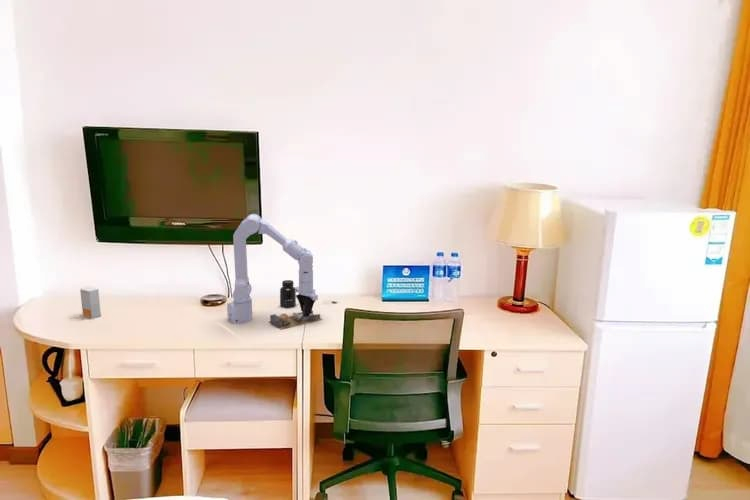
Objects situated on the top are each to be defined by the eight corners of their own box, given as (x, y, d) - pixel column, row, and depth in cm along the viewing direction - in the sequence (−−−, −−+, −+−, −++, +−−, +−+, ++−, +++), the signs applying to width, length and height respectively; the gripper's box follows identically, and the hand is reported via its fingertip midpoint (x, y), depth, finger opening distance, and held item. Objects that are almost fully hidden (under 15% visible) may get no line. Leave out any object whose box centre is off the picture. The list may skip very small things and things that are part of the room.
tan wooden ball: (281, 325, 221) (281, 316, 220) (276, 322, 224) (276, 313, 224) (290, 323, 224) (290, 314, 223) (285, 320, 227) (285, 311, 226)
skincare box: (82, 316, 230) (79, 288, 228) (91, 313, 234) (89, 286, 231) (92, 319, 228) (89, 291, 225) (101, 316, 231) (98, 288, 228)
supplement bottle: (287, 311, 241) (287, 284, 238) (276, 307, 245) (276, 281, 242) (299, 307, 246) (298, 281, 243) (288, 304, 250) (287, 278, 247)
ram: (297, 321, 226) (297, 307, 224) (292, 318, 229) (292, 305, 228) (313, 317, 230) (313, 304, 229) (308, 314, 233) (307, 301, 232)
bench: (280, 332, 218) (280, 321, 217) (267, 323, 226) (267, 313, 225) (323, 321, 229) (323, 311, 228) (309, 314, 238) (308, 304, 237)
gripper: (324, 283, 224) (324, 315, 227) (305, 275, 235) (305, 305, 238) (308, 286, 219) (309, 319, 223) (290, 277, 230) (290, 309, 234)
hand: (306, 312), depth 230 cm, fingers closed on ram, 3 cm apart
